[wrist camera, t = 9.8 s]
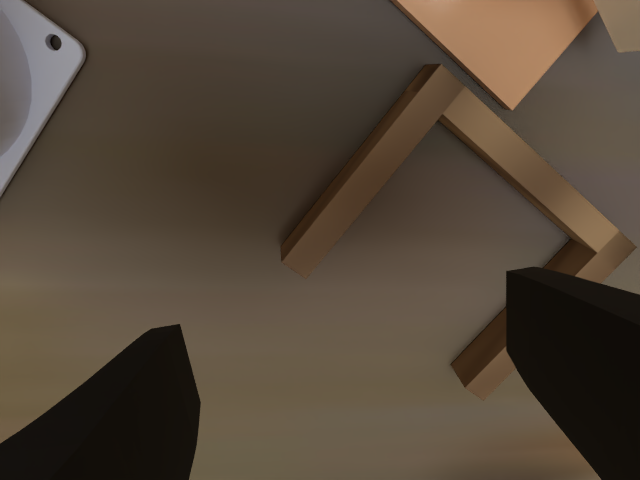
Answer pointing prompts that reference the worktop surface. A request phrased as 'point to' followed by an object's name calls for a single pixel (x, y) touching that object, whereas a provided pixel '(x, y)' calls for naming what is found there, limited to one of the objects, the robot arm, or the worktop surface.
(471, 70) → the plate
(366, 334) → the worktop surface
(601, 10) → the jug
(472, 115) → the holder
